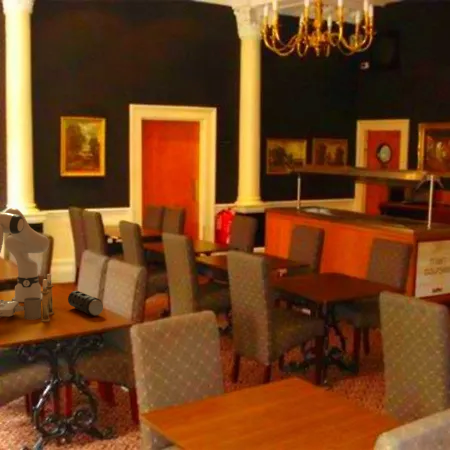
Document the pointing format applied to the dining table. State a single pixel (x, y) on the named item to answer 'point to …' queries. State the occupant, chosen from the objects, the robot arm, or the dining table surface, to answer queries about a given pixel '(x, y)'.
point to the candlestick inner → (49, 294)
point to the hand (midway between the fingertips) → (24, 308)
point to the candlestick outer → (45, 302)
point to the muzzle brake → (85, 303)
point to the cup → (32, 308)
